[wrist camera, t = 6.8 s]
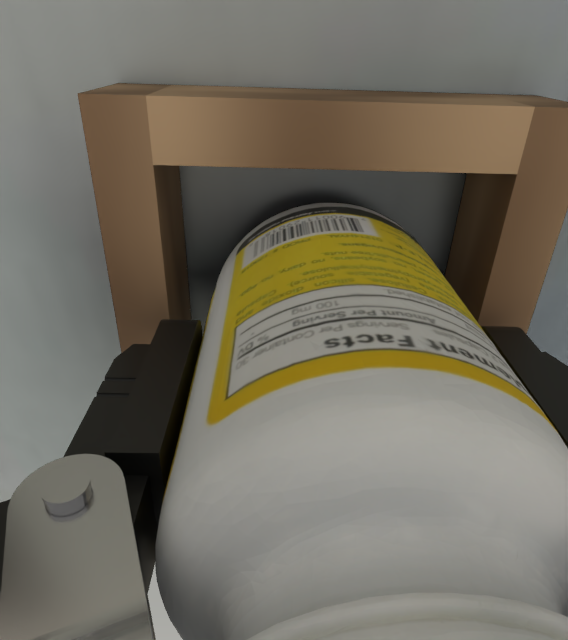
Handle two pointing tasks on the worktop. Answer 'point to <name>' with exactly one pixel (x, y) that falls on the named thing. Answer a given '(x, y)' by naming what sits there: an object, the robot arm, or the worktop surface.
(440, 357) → the supplement bottle
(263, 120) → the wooden frame
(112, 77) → the worktop surface
